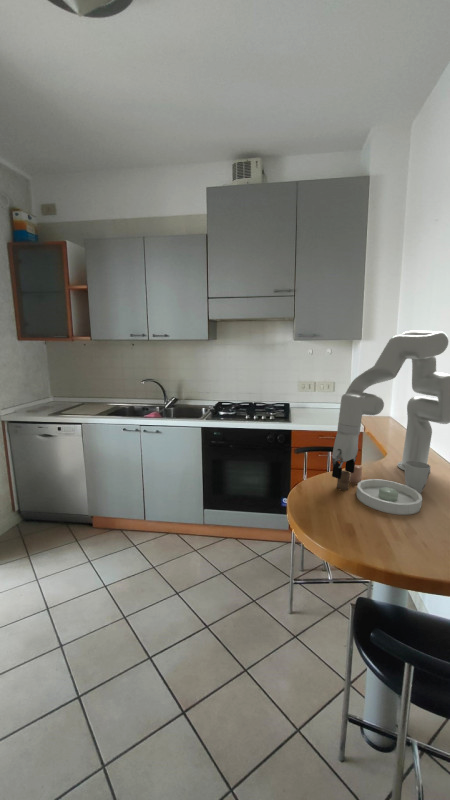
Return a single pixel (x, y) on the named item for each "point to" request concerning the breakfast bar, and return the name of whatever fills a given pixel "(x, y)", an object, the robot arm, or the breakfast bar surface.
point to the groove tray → (396, 507)
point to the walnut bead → (343, 481)
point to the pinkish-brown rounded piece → (356, 474)
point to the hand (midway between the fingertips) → (342, 474)
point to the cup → (416, 475)
